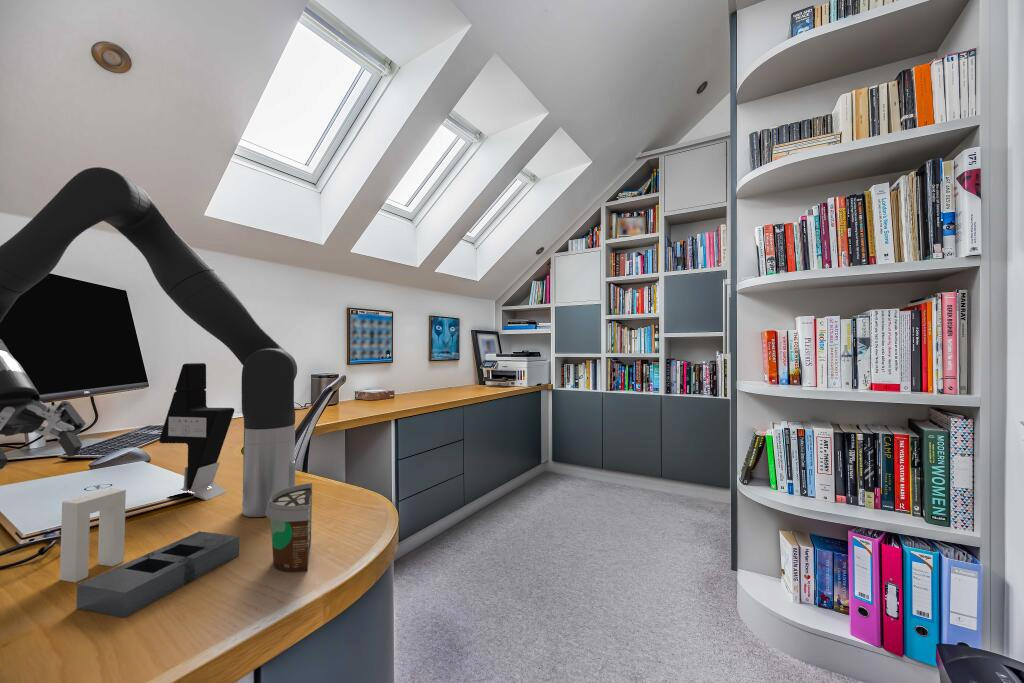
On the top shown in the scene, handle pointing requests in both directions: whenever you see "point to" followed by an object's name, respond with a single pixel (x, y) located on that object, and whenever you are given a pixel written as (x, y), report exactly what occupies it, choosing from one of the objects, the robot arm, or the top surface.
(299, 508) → the food container
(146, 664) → the top surface
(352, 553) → the top surface
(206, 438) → the award
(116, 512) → the grey arch-shaped block
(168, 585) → the grey slotted base block
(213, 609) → the top surface
